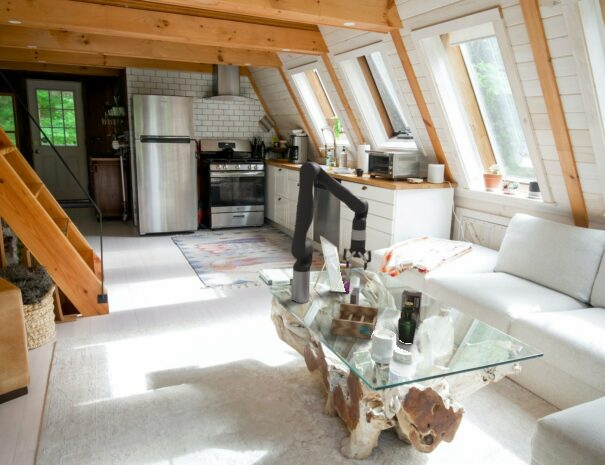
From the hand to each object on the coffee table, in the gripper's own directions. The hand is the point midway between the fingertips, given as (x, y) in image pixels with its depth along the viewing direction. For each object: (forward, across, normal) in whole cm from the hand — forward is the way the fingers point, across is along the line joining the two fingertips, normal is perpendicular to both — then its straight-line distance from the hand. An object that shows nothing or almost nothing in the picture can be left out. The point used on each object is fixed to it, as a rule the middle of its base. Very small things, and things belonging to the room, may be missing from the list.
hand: (356, 268), depth 248 cm
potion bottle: (+22, +28, -32) cm, 48 cm away
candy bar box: (+22, -12, +26) cm, 36 cm away
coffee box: (+22, +29, -11) cm, 38 cm away
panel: (+22, 0, 0) cm, 22 cm away
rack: (+22, +4, -23) cm, 32 cm away
